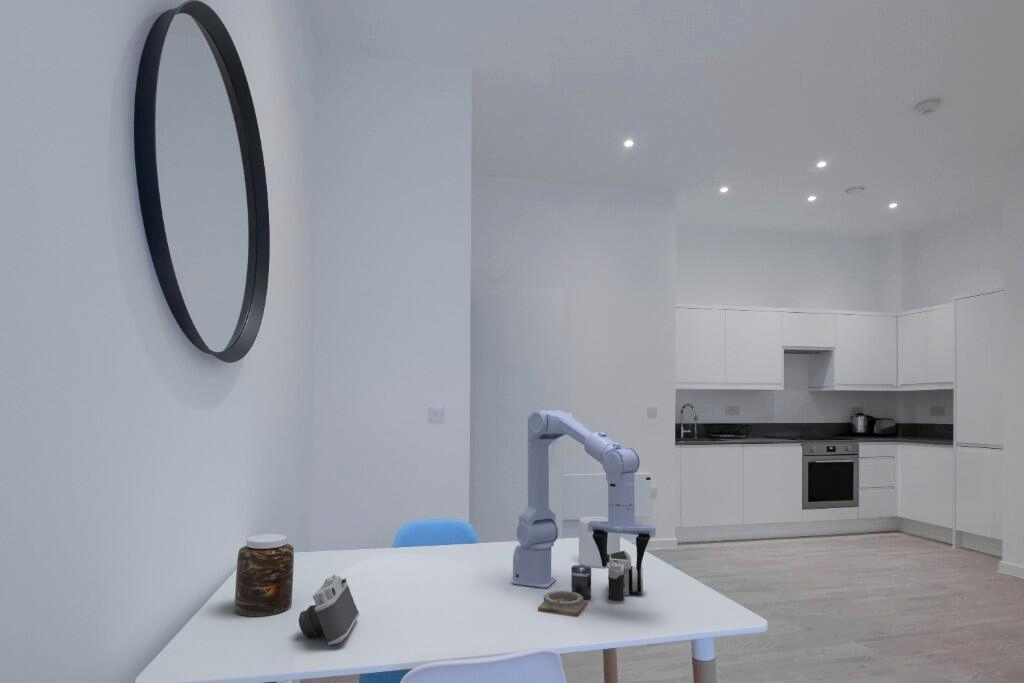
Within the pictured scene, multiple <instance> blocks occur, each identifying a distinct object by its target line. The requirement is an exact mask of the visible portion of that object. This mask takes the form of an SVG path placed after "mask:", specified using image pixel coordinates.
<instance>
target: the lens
mask: <svg viewBox="0 0 1024 683" xmlns="http://www.w3.org/2000/svg"><path fill="white" fill-rule="evenodd" d="M570 573H571V582H570V584H571V590H570V592H575V593H578V594H581V595H582V597H583V600H588V602H589V601H591V600H592V567H589V566H586V565H582V564H574V565H572V566H571V572H570Z"/></svg>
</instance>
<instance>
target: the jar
mask: <svg viewBox="0 0 1024 683" xmlns="http://www.w3.org/2000/svg"><path fill="white" fill-rule="evenodd" d="M287 538H288V537H287V536H286V535H285V534H280V533H264V534H255V535H251V536H249V537H248V538H246V544H245V545H244V546H242V547H241V548H240V549H238V553H237V559H236V560H237V561H236V576H235V591H234V592H235V593H234V612H235V613H236V614H237V615H239V616H243V617H251V618H252V617H255V618H257V617H259V618H261V617H268V616H274V615H279V614H282V613H284V612H286V611H288V610H289V609H292V605H293V604H292V603H293V586H294V585H293V584H294V566H295V565H294V563H295V562H294V559H295V556H294V555H295V553H294V551H295V550H294V545H292V544H289V543H288V542H287Z"/></svg>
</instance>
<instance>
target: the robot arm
mask: <svg viewBox="0 0 1024 683" xmlns="http://www.w3.org/2000/svg"><path fill="white" fill-rule="evenodd" d="M566 435H567V436H569V437H571V438H572V439H574V440H575V441H577V442H579V444H581V445H583V449H584V452H585V453H586V454H587V455H589V456H590V457H591V458H593V459H594V460H596V462H599V463H600V464H601V465H602V469H603V471H604V473H605V478H606V479H605V480H606V482H607V486H608V488H607V494H608V496H607V499H608V500H607V501H608V502H607V504H608V505H607V506H608V507H607V508H608V510H607V512H608V513H607V514H608V515H607V516H608V522H605V521H590V522H588V531H592V532H593V531H594V532H593V535H592V536H593V539H594V541H595V543H596V545H597V548H598V550H599V553H600V557H601V561H602V567H606V565H607V537H608V532H611V533H620V534H625V535H632V536H633V535H634V536H635V535H636V537H635V544H636V545H635V546H636V564H635V565H636V566H635V567H636V569H637V570H638V571H640V570H641V567H642V564H643V558H644V555H645V552H646V550H647V547H648V545H649V544H648V543H649V542H650V540H651V538H656V535H657V534H656V532H657V531H656V528H657V527H656V526H655V525H647V524H641V523H640V524H639V523H636V522H635V474H636V473H637V472H638V471H639V469H640V464H641V463H640V462H641V458H640V456H639V454H638V453H637V451H636V450H634V449H633V447H622V446H621V443H619V442H615V441H613V440H612V439H611V438H609V437H608V435H607V433H605V432H604V431H596V432H595V431H594V432H592V431H591V430H589V429H588V428H587V427H586V426H585V425H583V424H582V423H581V422H579V421H578V420H576V418H575V417H574V415H573V414H572V413H570V412H568V411H567V410H565V409H560V410H548V409H547V410H540V409H535V410H533V411H532V413H531V414H530V415H529V416H528V418H527V507H526V509H524V510H523V512H522V513H521V514H520V515H519V516H518V525H517V526H516V538H517V541H518V543H519V544H517V545H516V546H515V548H514V550H513V555H512V557H513V558H512V581H511V584H512V585H519V586H525V587H526V586H527V587H528V586H529V587H534V588H543V589H548V588H549V587H550V586H551V585H552V584H554V583H555V582H556V581H557V578H556V577H552V547H554V543H555V542H556V541H557V540H558V537H559V528H558V524H557V516H556V514H555V512H554V511H552V509H550V503H549V502H550V501H549V498H550V495H549V494H550V492H549V491H550V490H549V489H550V486H549V485H550V484H549V483H550V481H549V479H550V478H549V477H550V476H549V472H550V471H549V469H550V467H549V461H550V460H549V459H550V458H549V456H550V455H549V447H550V446H551V444H552V443H554V442H555V440H557V439H560V438H561V437H563V436H566Z"/></svg>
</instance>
